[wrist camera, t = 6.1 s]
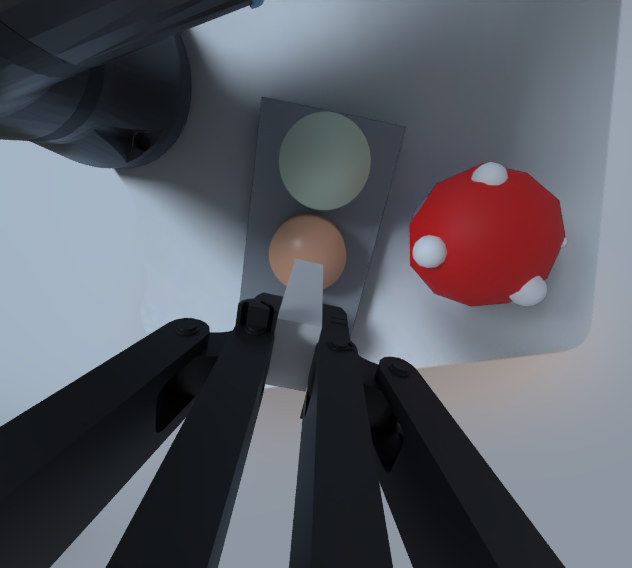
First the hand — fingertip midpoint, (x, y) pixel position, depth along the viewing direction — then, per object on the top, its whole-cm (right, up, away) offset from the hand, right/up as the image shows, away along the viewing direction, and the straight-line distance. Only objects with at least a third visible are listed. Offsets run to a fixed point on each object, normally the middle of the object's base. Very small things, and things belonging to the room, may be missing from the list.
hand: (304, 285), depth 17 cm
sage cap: (+1, +10, +8) cm, 12 cm away
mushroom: (+13, +6, +14) cm, 20 cm away
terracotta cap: (0, +3, +12) cm, 12 cm away
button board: (0, +4, +15) cm, 15 cm away
